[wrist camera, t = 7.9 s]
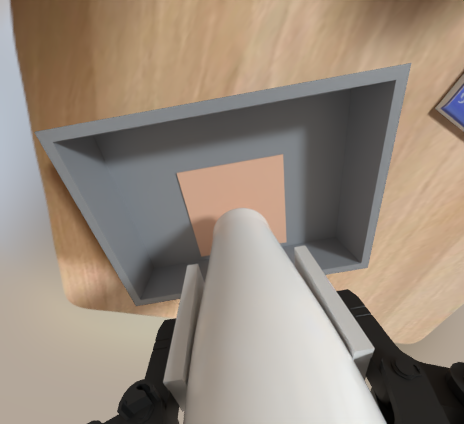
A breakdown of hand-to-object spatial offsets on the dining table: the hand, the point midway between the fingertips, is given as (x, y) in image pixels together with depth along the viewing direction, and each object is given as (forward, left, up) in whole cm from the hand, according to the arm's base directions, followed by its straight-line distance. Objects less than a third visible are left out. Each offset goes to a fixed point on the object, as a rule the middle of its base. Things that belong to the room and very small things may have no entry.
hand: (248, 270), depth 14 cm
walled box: (-2, 0, -10) cm, 10 cm away
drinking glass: (0, 0, -6) cm, 6 cm away
